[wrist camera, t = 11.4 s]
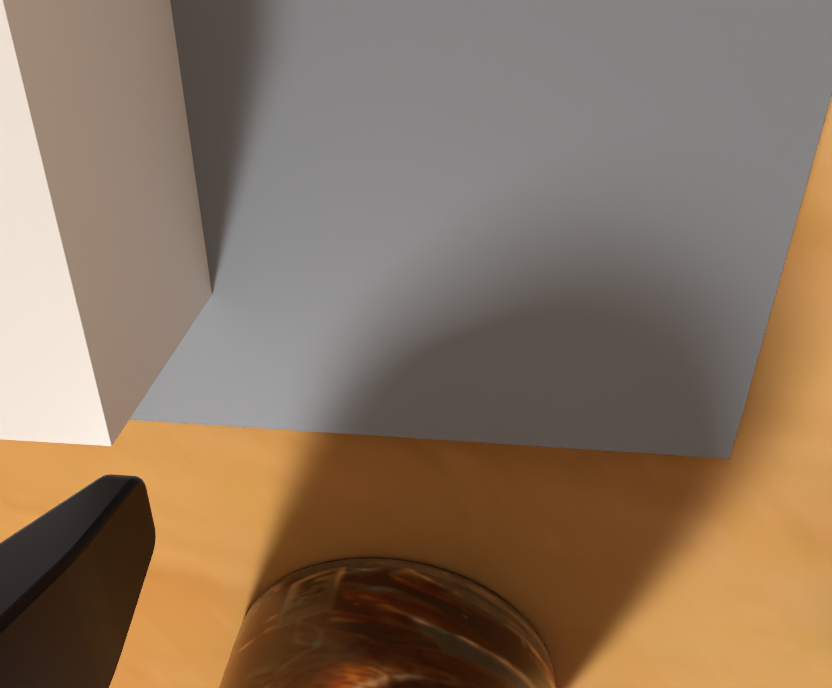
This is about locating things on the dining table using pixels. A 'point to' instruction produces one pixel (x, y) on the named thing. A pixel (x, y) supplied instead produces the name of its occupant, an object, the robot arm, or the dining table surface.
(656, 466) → the dining table surface
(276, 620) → the jar
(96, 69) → the housing
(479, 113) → the board
